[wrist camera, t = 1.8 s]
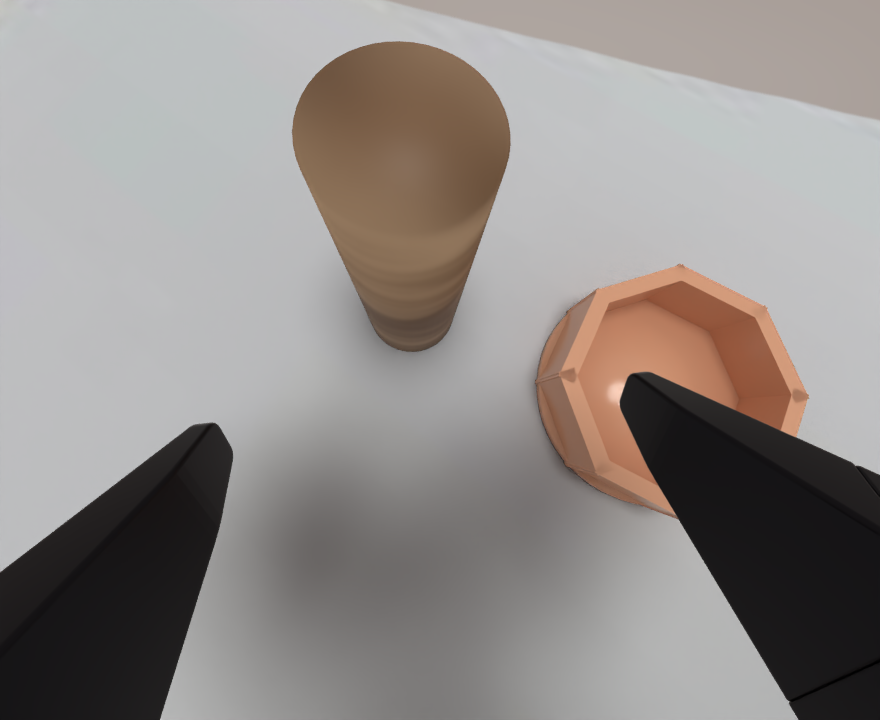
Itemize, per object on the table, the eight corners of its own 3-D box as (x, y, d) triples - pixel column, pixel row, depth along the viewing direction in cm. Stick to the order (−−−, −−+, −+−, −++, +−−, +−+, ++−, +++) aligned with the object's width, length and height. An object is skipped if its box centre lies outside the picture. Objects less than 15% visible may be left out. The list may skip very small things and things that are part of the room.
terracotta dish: (703, 544, 19) (765, 570, 16) (501, 439, 20) (518, 443, 16) (768, 348, 22) (835, 334, 18) (586, 255, 22) (617, 225, 18)
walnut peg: (429, 366, 20) (451, 270, 7) (354, 327, 20) (248, 167, 7) (467, 295, 21) (544, 100, 8) (395, 258, 21) (361, 9, 8)
